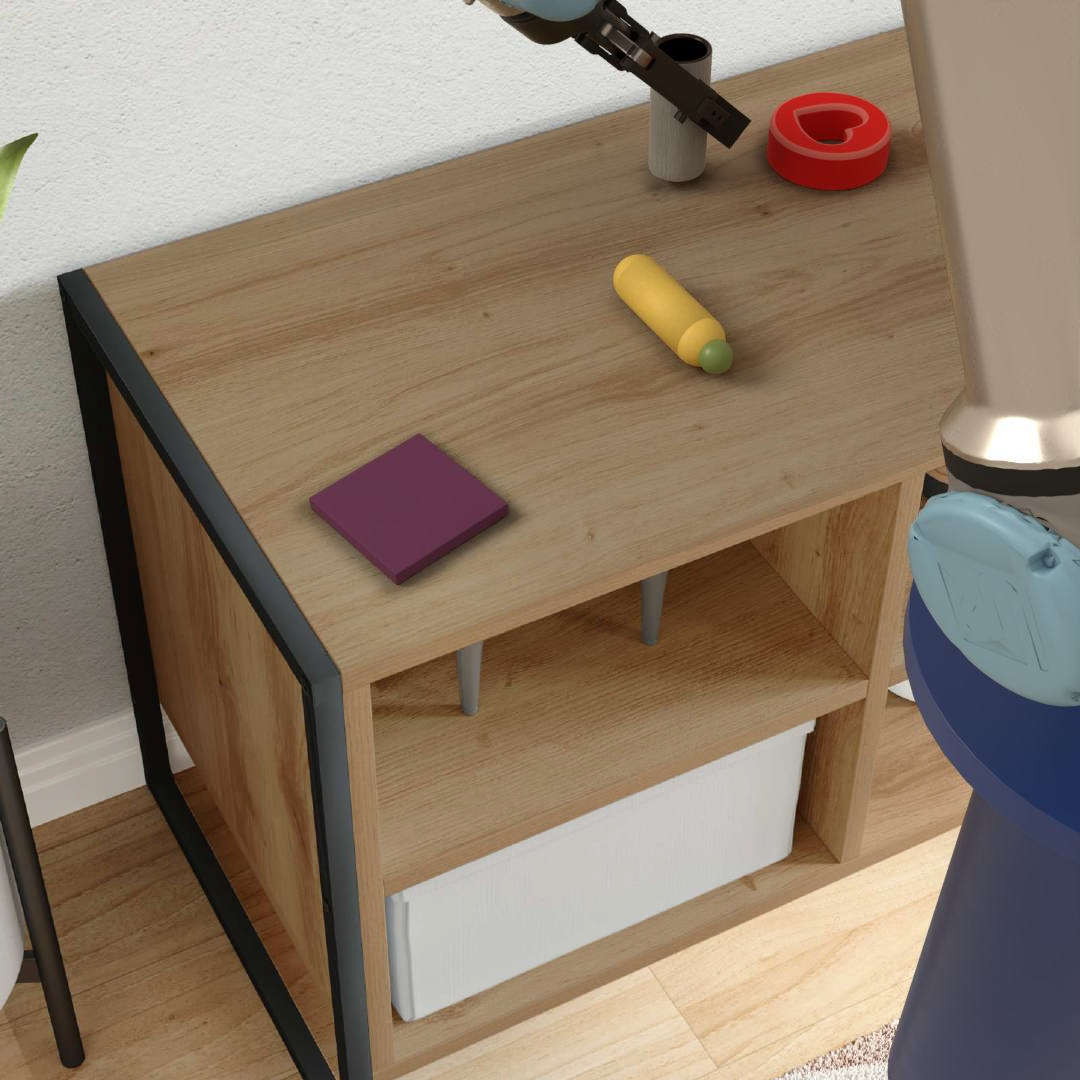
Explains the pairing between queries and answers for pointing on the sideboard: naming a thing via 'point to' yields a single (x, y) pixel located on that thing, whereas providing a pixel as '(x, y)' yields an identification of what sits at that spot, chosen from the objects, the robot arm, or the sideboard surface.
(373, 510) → the cloth
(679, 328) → the corn
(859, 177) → the decorative ornament
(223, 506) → the sideboard surface
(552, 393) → the sideboard surface
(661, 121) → the grey hollow cylinder
